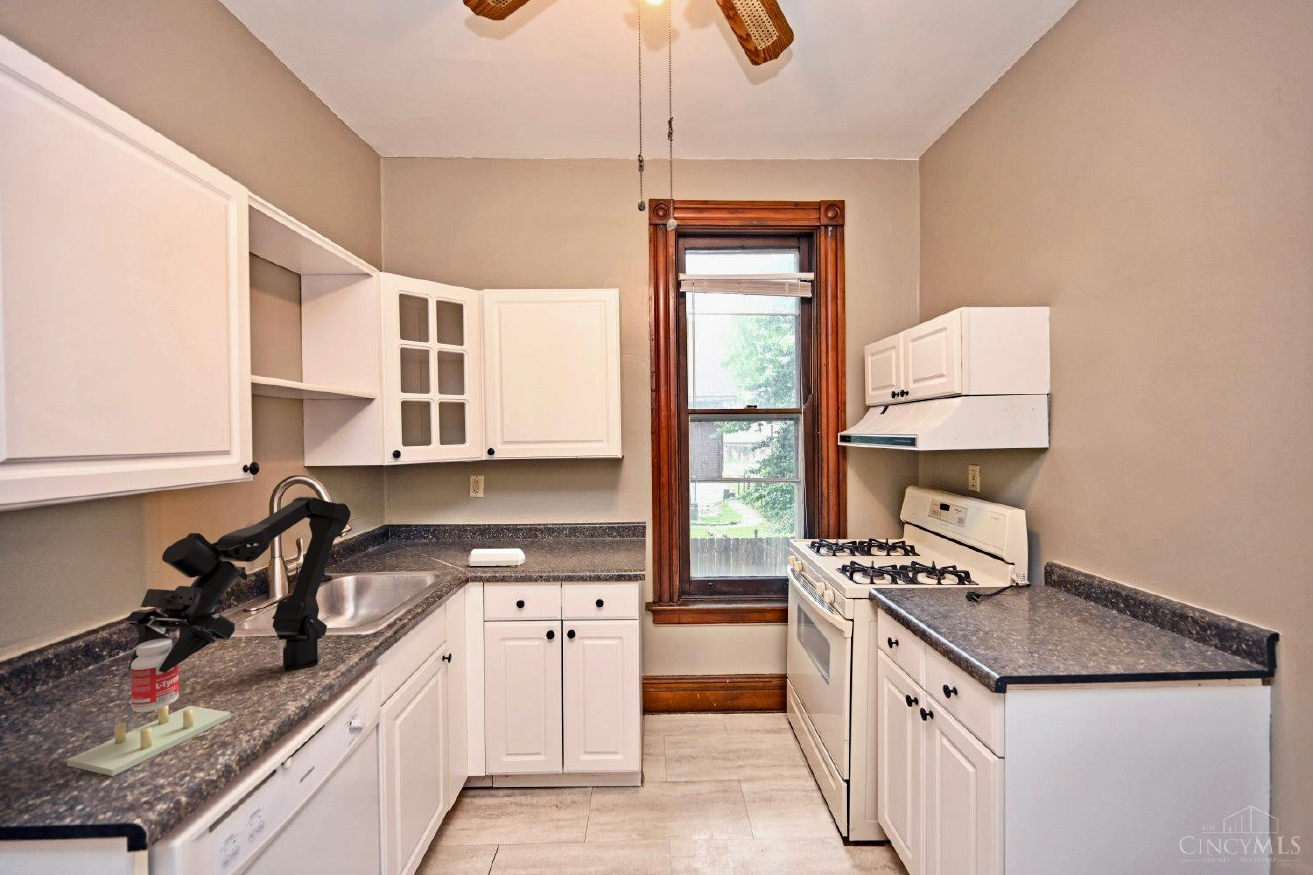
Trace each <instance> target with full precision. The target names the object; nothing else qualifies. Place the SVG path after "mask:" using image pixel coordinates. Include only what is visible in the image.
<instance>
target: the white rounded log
mask: <svg viewBox="0 0 1313 875" xmlns="http://www.w3.org/2000/svg"><path fill="white" fill-rule="evenodd" d="M525 556H526V555H525V554H524V552H523V550H522V549H520V548H473V549H472V550H471V551H470V554H469V555H468V558H467V559H468V562H469V567H470V566H496V565H503V566H506V565H520V564H522V563H525V560H526V557H525Z"/></svg>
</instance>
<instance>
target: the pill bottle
mask: <svg viewBox="0 0 1313 875" xmlns="http://www.w3.org/2000/svg"><path fill="white" fill-rule="evenodd" d="M169 638H170V637H169ZM169 638H163V639H156V640H151V641H147V642H144V643H141V644H139V645H138V646H137V645H136V646H137V647H136V646H135V649H136V654H137V656H138V657H137V658H136V659H135V660H134V661H133V662H132V664H131V670H130V693H131V696H130V697H131V704H130V705H131V710H132V711H134V712H135V713H136V712H138V713H144V712H146V713H147V712H151V711H156V710H158V709H159V708H162V707H165V706H167V705H168V706H169V705H171V704H173V703H174V702H175V701H177V700H178V698H179V692H180V691H179V690H180V688H179V664H177V665H176V666H174V667H173V668H172V669H170V670H169V671H167V672H166V673H162V672H160V671H159V669H160V667H161V666H162V664H163V662H164V660H165V659H166V657H167V656H168V654H169V653H170V651H171V650H172V648H173V639H172V638H171V639H169Z"/></svg>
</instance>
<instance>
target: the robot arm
mask: <svg viewBox="0 0 1313 875" xmlns="http://www.w3.org/2000/svg"><path fill="white" fill-rule="evenodd" d="M305 518H306V519H308V520H309V522H308V526H309V531H310V532H311V537H310V541H309V543H308V547H307V548H306V552H305V556H304V559H303V560H302V564H301V566H300V570H299V573H298V576H297V579H296V582H295V585H294V587H293V591H292V594H291V595H290V596H289V597H288V598H287V599H286V600H279V601H278V603H277V605H276V609H275V612H274V614H273V616H272V617H271V619H272V620H273V622H272V628H273V629H274V632H275V634H276V635H277V639H278V641H285V645H283V648H282V665H283V666H284V671H285V672H286V671H287V672H288V671H291V670H297V669H301V668H308V667H312V666H317V665H319V662H320V655H321V654H320V652H319V651H320V650H319V647H320V646H319V644H320V643H319V642H320V641H319V640H320V639H322V637H324V636H325V635H326V632H327V630H328V625H327V624H326V623H325V622H323V621H322V620H320V618H319V617H318V616H319V613H320V606H319V604H318V601H317V595H318V591H319V588H320V585H321V582H322V579H323V576H324V573H325V569H326V567H327V564H328V560H329V558H330V554H331V551H332V547H333V545H334V542H335V539H336V538H337V537H339V535H341V533H342V532H344V531H345V529H346V527H347V525H348V523H349V520H350V518H351V510H350V509H349V506H348V505H347V504H346V503H343V502H332V501H327V500H323V499H320V498H318V497H316V496H298V497H296V498H294V499H292V501H291V502H290V503H288V504H286V505H285V506H283V507H281V508H280V509H278V510H277V511H275V512H274V513H272V514H270V515H268V516H266V517H265V518H263V519H262V520H260V521H259V522H257V523H255V524H253V525H251V526H247V527H246V526H245V527H243V528H239V529H236V530H234V531H230V532H229V533H225V534H223V535H222V536H221V537H220V538H218V539H217V541H215V542H210V541H208V540H207V539H206V538H205V536H203V535H202V534H201V533H200V532H190V533H189V534H188V535H187V536H186V537H183V538H181V539H179V540H177V541H175V542H173V544H171V545H169V546H167V547H166V548H165V550H164V551H163V553H162V556H161V560H162V561H163V562H164V563H165V564H166V565H168V566H170V567H171V568H173V569H174V570H176V571H177V572H178V573H180V574H181V575H183V576H185V577H186V578H188V579H192V578H195V579H194V580H193V582H192V583H191V584H190V585H179V586H177V587H176V588H175V589H159V588H158V589H157V588H148V589H147V590H146V592H145V594H144V597H143V599H142V602H141V604H140V608H155V609H137V610H134V611H133V610H132V612H131V613H130V614H129V615H128V616H127V617H126V619H125V620H124V623H125V624H127V625H129V626H131V627H133V629H135V630H136V632H137V635H138V639H137V643H136V646H135V649H134V652H133V655H132V658H131V660H130V662H129V666H128V669H129V670H130V671H131V664H132V662H133V661H134V660H135V659H136V658H137V657H138V656H137V654H136V647H137V646H138V645H139V644H141V643H144V642H147V641H151V640H156V639H163V638H169V639H172V638H171V637H170V636H167V634H168V633H170V631H171V630H179V634H178V639H177V641H176V643H175V644H174V645H173V646H172V648H171V651H170V653H169V654H168V656H167V657H166V659H165V660H164V662H163V664H162V666H161V667H160V669H159V671H160V672H162V673H166V672H167V671H169V670H170V669H172V668H173V667H174V666H176V665H177V664H178V665H179V664H180V663H182V662H184V661H185V660H186V659H188V658H189V657H191V656H192V655H194V654H195V653H197V652H199V651H200V650H202V649H204V648H205V647H207V646H209V645H211V644H215V642H216V641H217V640H223V641H225V640H227V641H229V640H230V639H231V637H232V635H233V634H234V633H235V631H236V623H234V622H232V621H231V619H230V620H229V619H228V617H227V618H226V617H225V616H223V615H222V614H220V612H219V613H217V612H213V611H214V610H215V608H216V607H218V608H219V607H220V608H221V607H223V605H224V604H225V601H224V600H223V599H222V598H223V597H224V596H225V595H226V593H227V591H228V590H229V589H230V588H231V586H232V584H233V583H234V582H235V581H247V580H248V577H249V576H248V574H247V572H246V566H237V565H236V564H235V563H234V562H237V563H250V562H252V563H253V562H254V561H256V560H258V558H260V557H261V556H263V554H264V553H265V552H266V551H267V550H268V549H269V547H270V545H271V543H272V541H274V539H275V538H277V537H278V536H280V535H282V534H284V532H286V531H288V530H289V529H291V528H292V527H294V526H295V525H296V524H298V523H299V522H301V521H303V520H304V519H305ZM156 609H160V610H159V611H157V610H156ZM166 615H167V616H166Z"/></svg>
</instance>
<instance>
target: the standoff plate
mask: <svg viewBox="0 0 1313 875" xmlns="http://www.w3.org/2000/svg"><path fill="white" fill-rule="evenodd" d="M157 713H158V714H157V717H158V718H157V719H156V720H154V721H152V722H150V723H147V724H145V725H142V726H140V727H138V728H136V729H133V730H131V731H129V732H127V723H126V722H120V723H117V724H115V725H114V738H113V739H111V740H108V741H106V742H104V743H102V744H99V745H97V746H94V747H92V748H89V749H88V750H86V751H84V752H81V753H78V754H76V755H75V756H72V757H69V758H67V759H66V766H67V767H71V768H76V769H80V770H85V771H89V772H93V773H97V774H101V775H107V776H110V777H114V776H115V775H119V774H120V773H123V772H124V771H126V770H128V769H130V768H132V767H134V766H136V765H138V764H140V763H143V762H145V761H146V760H148V759H150V758H152V757H154V756H156V755H158V754H161V753H162V752H165V751H167V750H169V749H171V748H172V747H175V746H177V745H179V744H181V743H183V742H184V741H185V742H186V741H187V740H190V738H193V737H195V736H197V735H199V734H201V733H203V732H205V731H206V730H209V729H211V728H213V727H215V726H217V725H219V724H222V723H224V722H225V721H227V720H230V719H231V718H232V712H230V711H223V710H218V709H211V708H206V707H200V706H196V705H195V706H194V705H188V706H185V707H183V708H181V709H178V710H176V711H173V712H171V713H170V714H169V705H167V706H165V707H162V708H159V709H157Z"/></svg>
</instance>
